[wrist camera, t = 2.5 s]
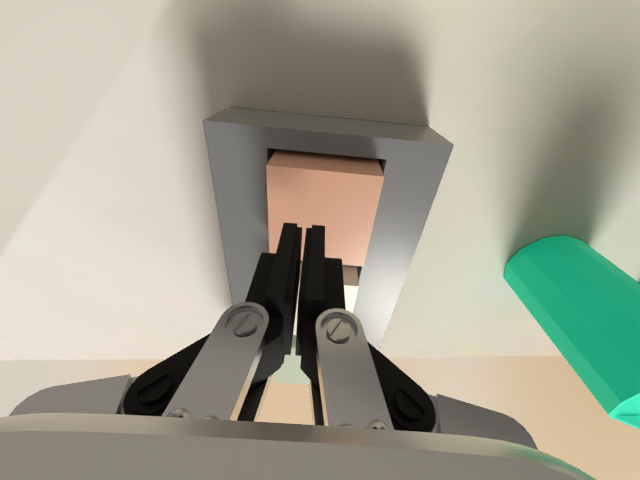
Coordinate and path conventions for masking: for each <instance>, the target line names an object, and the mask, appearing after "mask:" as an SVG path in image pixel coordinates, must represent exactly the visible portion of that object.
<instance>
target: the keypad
mask: <svg viewBox="0 0 640 480" xmlns="http://www.w3.org/2000/svg"><path fill="white" fill-rule="evenodd" d="M203 123H204V129H205V136H206V142H207V148H208V154H209V161H210V167H211V173H212V179H213V186H214V192H215V198H216V204H217V210H218V217H219V223H220V229H221V235H222V242H223V248H224V254H225V260H226V267H227V273H228V279H229V285H230V292H231V298H232V304H233V305H236V304H238V303H243V302H245V300H246V297H247V294H248V291H249V288H250V285H251V282H252V279H253V276H254V273H255V270H256V267H257V264H258V261H259V258H260V255H261V253H262V252H263V253H269V228H268V200H267V172H266V165H267V163H268V162H269V160H270V159H271V157H272V155H273V154H274V152H275V151H276V149H283V150H293V151H303V152H314V153H324V154H334V155H345V156H355V157H365V158H375V159H377V160H378V162H379V165H380V167H381V170H382V172H383V174H384V181H383V185H382V190H381V194H380V198H379V202H378V207H377V211H376V215H375V220H374V224H373V228H372V232H371V237H370V241H369V245H368V249H367V254H366V258H365V262H364V267H363V266H357V274H358V283H359V288H358V292H357V297H356V301H355V305H354V309H353V314H354V315H355V316H356V317H357V318H358V319H359V320H360V322H361V324H362V326H363V329H364V333H365V336H366V339H367V341H368V342H369V343H370V344H371V345H372V346H373V347H375V348H376V349H377V350H378V351H379V348H380V346H381V343H382V340H383V337H384V335H385V332H386V329H387V326H388V324H389V321H390V318H391V315H392V313H393V310H394V307H395V305H396V302H397V299H398V296H399V294H400V291H401V288H402V285H403V283H404V280H405V277H406V274H407V272H408V269H409V266H410V264H411V261H412V258H413V255H414V253H415V250H416V247H417V244H418V242H419V239H420V236H421V233H422V231H423V228H424V225H425V222H426V220H427V217H428V214H429V212H430V209H431V206H432V203H433V201H434V198H435V195H436V192H437V190H438V187H439V184H440V181H441V179H442V176H443V173H444V171H445V168H446V165H447V162H448V160H449V157H450V154H451V151H452V149H453V146H454V145H453V144H452V143H451V142H449V141H448V140H446V139H445V138H444V137H442V136H441V135H440V134H438V133H437V132H436V131H434V130H433V129H431V128H430V127H426V126H416V125H406V124H396V123H385V122H375V121H365V120H355V119H345V118H335V117H325V116H314V115H304V114H294V113H284V112H274V111H264V110H254V109H243V108H233V107H230V108H228V109H226V110H224V111H222V112H219V113H217V114H215V115H213V116H211V117H209V118H207V119H205V120H203Z"/></svg>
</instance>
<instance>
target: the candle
mask: <svg viewBox="0 0 640 480" xmlns="http://www.w3.org/2000/svg"><path fill="white" fill-rule="evenodd" d="M504 279H505V280H506V281H507V283H508V284H509V285H510V287H511V288H512V289H513V291H514V292H515V293H516V295H517V296H518V297H519V299H520V300H521V301H522V303H523V304H524V305H525V306H526V308H527V309H528V310H529V312H530V313H531V314H532V316H533V317H534V318H535V320H536V321H537V322H538V324H539V325H540V326H541V327H542V329H543V330H544V331H545V333H546V334H547V335H548V337H549V338H550V339H551V341H552V342H553V343H554V344H555V346H556V347H557V348H558V350H559V351H560V352H561V354H562V355H563V356H564V358H565V359H566V360H567V361H568V363H569V364H570V365H571V367H572V368H573V369H574V371H575V372H576V373H577V375H578V376H579V377H580V378H581V380H582V381H583V382H584V384H585V385H586V386H587V388H588V389H589V390H590V392H591V393H592V394H593V396H594V397H595V398H596V399H597V401H598V402H599V403H600V405H601V406H602V407H603V409H604V410H605V411H606V412H607V414H608V415H609V416H610V418H613V419H615V420H618V421H620V422H622V423H625V424H627V425H630V426H632V427H635V428H637V429H639V428H640V284H639V283H638V282H637V281H635V280H634V279H633V278H631V277H630V276H629V275H627V274H626V273H625V272H623V271H622V270H621V269H619V268H618V267H617V266H615V265H614V264H613V263H611V262H610V261H609V260H607V259H606V258H605V257H603V256H602V255H601V254H599V253H598V252H597V251H595V250H594V249H592V248H591V247H590V246H588V245H587V244H586V243H584V242H583V241H582V240H579V239H576V238H572V237H569V236H566V235H561V236H554V237H548V238H541V239H539V240H537V241H535V242H533V243H531V244H529V245H527V246H525V247H523V248H521V249H520V250H519V251H518V252H517V253H516V254H515V255H514V256H513V257H512V258H511V259H510V260H509V261H508V263H507V264H506V268H505V273H504Z"/></svg>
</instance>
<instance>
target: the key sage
mask: <svg viewBox="0 0 640 480" xmlns="http://www.w3.org/2000/svg"><path fill="white" fill-rule="evenodd" d="M295 351H296V335H293V340H292V348H291V355H285V358H284V364H282V366H281V368H280V369H278V370H277V371H276V372H275V373H274V382H281V383H292V384H303V385H309V378H308V377H307V376H306V375H305V373H304V372H303V371H302V370H301V369H300V364H301V356H296V355H295Z"/></svg>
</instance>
